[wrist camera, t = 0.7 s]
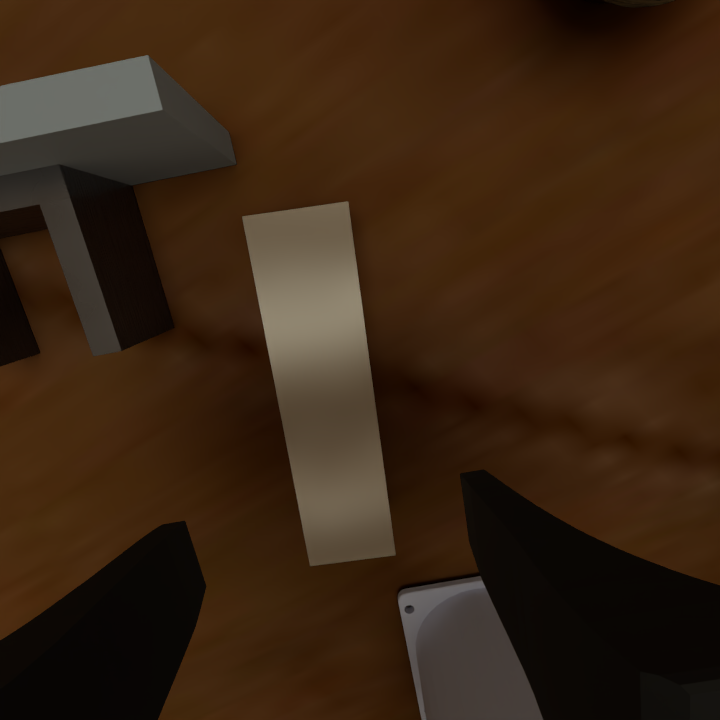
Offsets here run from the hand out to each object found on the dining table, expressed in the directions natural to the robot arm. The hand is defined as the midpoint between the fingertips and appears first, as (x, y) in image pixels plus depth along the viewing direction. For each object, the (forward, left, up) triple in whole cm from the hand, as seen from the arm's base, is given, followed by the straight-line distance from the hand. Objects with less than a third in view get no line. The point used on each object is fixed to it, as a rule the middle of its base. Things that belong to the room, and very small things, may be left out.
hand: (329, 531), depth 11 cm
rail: (+1, 0, -10) cm, 10 cm away
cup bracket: (+7, +10, -9) cm, 16 cm away
